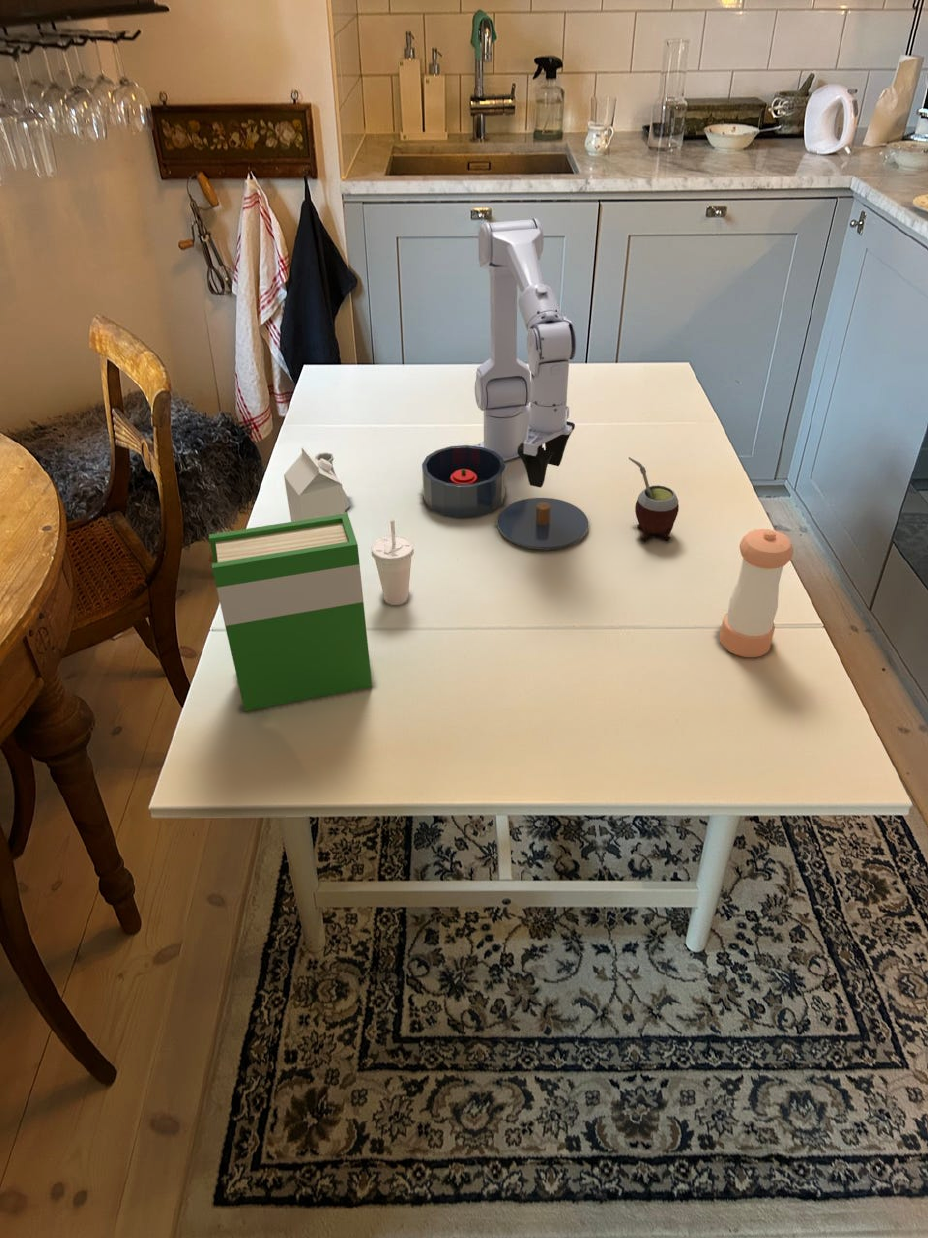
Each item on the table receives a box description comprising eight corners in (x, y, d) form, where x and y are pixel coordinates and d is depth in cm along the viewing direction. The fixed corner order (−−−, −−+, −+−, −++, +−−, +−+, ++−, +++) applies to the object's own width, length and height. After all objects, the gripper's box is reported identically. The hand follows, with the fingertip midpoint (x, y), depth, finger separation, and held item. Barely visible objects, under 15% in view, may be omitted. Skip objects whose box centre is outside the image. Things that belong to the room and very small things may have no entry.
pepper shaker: (761, 663, 134) (789, 553, 122) (712, 646, 137) (734, 536, 125) (777, 635, 138) (805, 526, 126) (729, 619, 141) (752, 511, 129)
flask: (353, 496, 170) (349, 447, 164) (346, 518, 165) (340, 468, 158) (314, 494, 171) (308, 445, 165) (305, 516, 165) (298, 466, 159)
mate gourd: (682, 532, 160) (694, 454, 150) (656, 552, 155) (667, 473, 146) (645, 516, 164) (655, 439, 154) (619, 535, 159) (627, 457, 150)
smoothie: (423, 591, 148) (419, 516, 139) (404, 614, 143) (399, 538, 135) (387, 581, 150) (381, 506, 141) (368, 604, 145) (360, 528, 137)
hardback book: (244, 711, 127) (212, 567, 112) (239, 675, 133) (208, 534, 118) (372, 686, 131) (357, 544, 116) (362, 653, 136) (347, 513, 121)
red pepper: (468, 484, 172) (467, 459, 169) (482, 496, 169) (482, 471, 166) (445, 492, 170) (445, 467, 167) (459, 503, 167) (459, 478, 164)
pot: (457, 467, 178) (456, 437, 174) (520, 491, 171) (521, 460, 167) (407, 499, 169) (405, 469, 165) (471, 526, 162) (470, 495, 158)
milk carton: (310, 575, 152) (295, 472, 140) (295, 553, 156) (280, 451, 145) (351, 563, 154) (340, 460, 142) (335, 541, 159) (323, 441, 147)
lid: (531, 493, 170) (532, 472, 168) (605, 521, 163) (607, 500, 160) (479, 531, 161) (479, 510, 158) (555, 563, 153) (556, 541, 151)
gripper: (555, 423, 140) (551, 500, 149) (588, 384, 151) (583, 459, 159) (512, 414, 143) (510, 491, 151) (547, 377, 153) (544, 451, 162)
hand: (544, 474), depth 155 cm, fingers open, 7 cm apart
